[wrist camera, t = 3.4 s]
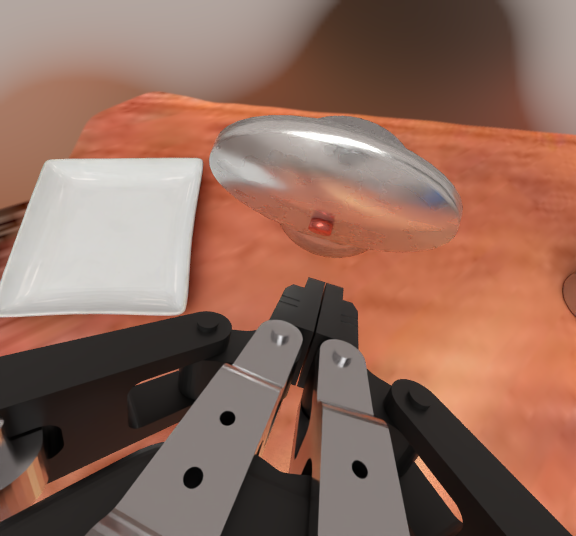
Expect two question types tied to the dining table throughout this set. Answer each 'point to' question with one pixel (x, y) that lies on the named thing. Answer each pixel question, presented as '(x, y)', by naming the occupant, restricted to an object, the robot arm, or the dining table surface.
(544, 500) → the dining table surface
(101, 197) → the square plate
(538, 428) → the dining table surface
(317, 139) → the lid
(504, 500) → the robot arm
